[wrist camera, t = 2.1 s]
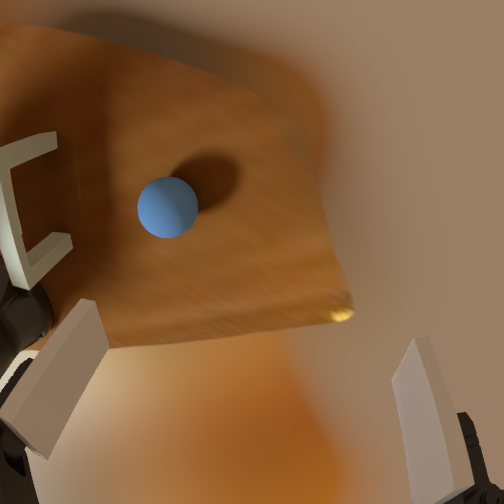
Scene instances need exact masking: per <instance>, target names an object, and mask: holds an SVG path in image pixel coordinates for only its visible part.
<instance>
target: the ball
mask: <svg viewBox="0 0 504 504" xmlns="http://www.w3.org/2000/svg"><path fill="white" fill-rule="evenodd" d="M197 212H198V201H197V197H196V194H195V192H194V191H193V189H192V188H191V187H190V186H189V185H188V184H187V183H186V182H185V181H183V180H181V179H179V178H175V177H161V178H158V179H156V180H154V181H152V182H151V183H149V184H148V185H147V186H146V187H145V188H144V189H143V191H142V193H141V195H140V197H139V200H138V216H139V219H140V221H141V223H142V225H143V226H144V227H145V228H146V230H148V231H149V232H150V233H152V234H153V235H155V236H158V237H162V238H173V237H177V236H179V235H181V234H183V233H185V232H186V231H187V230H188V229H189V228H190V227H191V226H192V225H193V223H194V221H195V219H196V216H197Z"/></svg>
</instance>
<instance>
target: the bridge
mask: <svg viewBox="0 0 504 504" xmlns="http://www.w3.org/2000/svg"><path fill="white" fill-rule="evenodd" d="M55 149H57V135H56V131H53V132H46V133H39V134H36V135H33V136H30V137H27V138H24V139H21V140H18V141H15V142H13V143H10V144H7V145H5V146H2V147H0V249H1V252H2V255H3V259H4V262H5V265H6V268H7V271H8V273H9V276H10V279H11V282H12V285H13V286H16V287H20V288H23V289H27V290H31V288H32V287H33V286H34V285H35V284H36V283H37V282H38V281H39V280H40V279H41V278H42V277H43V276H44V275H45V274H46V273H47V272H48V271H50V270H51V269H52V268H53V267H54V266H55V265H56V264H57V263H58V262H59V261H60V260H61V259H62V258H63V257H64V256H65V255H66V254H67V253H68V252H70V251H71V250H72V249H73V245H72V240H71V235H70V233H60V232H52V233H51V234H50V235H48V236H47V237H46V238H45V239H43V240H42V241H41V242H40V243H38V244H37V245H36V246H35V247H34V248H32V249H31V250H30V251H29V252H28V253H26V250H25V247H24V243H23V239H22V236H21V232H20V228H19V223H18V219H17V215H16V210H15V205H14V200H13V195H12V190H11V184H10V178H9V172H8V169H11V168H13V167H15V166H17V165H19V164H21V163H24V162H26V161H28V160H31V159H33V158H35V157H38V156H40V155H42V154H45V153H47V152H50V151H52V150H55Z"/></svg>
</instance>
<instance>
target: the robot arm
mask: <svg viewBox="0 0 504 504" xmlns="http://www.w3.org/2000/svg"><path fill="white" fill-rule="evenodd" d="M53 321H54V318H53V312H52V308H51V305H50V303H49V301H48V298H47V296H46V295H45V293H44V291H43V290H42V288H41V287H40V285H39V284H38V282H37V283H36V284H35V285H34V286H33V287H32V288H31V290H27V289H23V288H20V287H16V286H13V285H12V282H11V279H10V276H9V273H8V271H7V268H6V265H5V262H4V259H3V257H0V379H1V377H2V376H3V374H4V373H5V372H6V370H7V369H8V367H9V366H10V364H11V363H12V362H13V360H14V359H15V357H16V356H17V355H18V354H19V353H20V352H21V351H23V350H24V349H26V348H27V347H29V346H31V345H32V344H34V343H35V342H37V341H39V340H41V339H42V338H44V337H45V336H46V334H47V333H48V332H49V331H50V329H51V328H52V326H53ZM109 347H110V346H109V343H108V340H107V337H106V334H105V331H104V328H103V325H102V322H101V319H100V316H99V313H98V310H97V306H96V303H95V301H91V300H87V299H82V298H81V299H80V300H79V302H78V303H77V304H76V305H75V306H74V308H73V309H72V310H71V311H70V313H69V314H68V315H67V316H66V318H65V319H64V320H63V321H62V323H61V324H60V325H59V327H58V328H57V329H56V330H55V332H54V333H53V334H52V336H51V337H50V338H49V340H48V341H47V342H46V344H45V345H44V346H43V348H42V349H41V350H40V352H39V353H38V355H37V356H36V357H35V359H32V358H28V359H27V360H25V361H24V362H23V363H21V364H20V365H19V367H18V368H17V369H16V371H15V372H14V374H13V376H11V378H10V379H9V381H8V383H7V384H6V385H5V386H4V388H3V389H2V391H1V393H0V504H39V502H38V498H37V495H36V491H35V487H34V484H33V480H32V476H31V472H30V467H29V462H28V458H27V454H26V451H25V450H24V449H25V447H26V446H27V447H28V448H29V449H30V450H31V451H32V452H34V453H35V454H37V455H39V456H41V457H42V458H44V459H46V460H48V459H49V457H50V455H51V452H52V450H53V448H54V446H55V444H56V442H57V440H58V438H59V437H60V435H61V433H62V431H63V429H64V427H65V425H66V423H67V421H68V419H69V417H70V415H71V414H72V412H73V410H74V408H75V406H76V404H77V402H78V401H79V399H80V397H81V395H82V393H83V392H84V390H85V388H86V386H87V384H88V382H89V381H90V379H91V377H92V375H93V374H94V372H95V370H96V369H97V367H98V365H99V364H100V362H101V360H102V358H103V357H104V355H105V353H106V351H107V350H108V348H109ZM391 381H392V386H393V390H394V395H395V400H396V404H397V409H398V415H399V419H400V425H401V431H402V436H403V442H404V448H405V454H406V461H407V468H408V476H409V484H410V492H411V501H412V504H504V490H501V489H499V487H498V486H496V485H495V484H492V483H491V482H490V481H489V478H488V475H487V470H486V467H485V462H484V458H483V454H482V451H481V448H480V446H479V440H478V437H477V436H476V434H477V433H476V430H475V427H474V424H473V421H472V420H471V419H470V417H469V416H468V414H467V413H466V412H463V413H456V410H455V407H454V404H453V400H452V398H451V394H450V391H449V388H448V385H447V383H446V380H445V377H444V375H443V371H442V369H441V366H440V363H439V361H438V358H437V355H436V353H435V350H434V348H433V345H432V343H431V340H430V338H429V337H413V339H412V341H411V343H410V345H409V348H408V350H407V351H406V353H405V356H404V357H403V359H402V361H401V363H400V365H399V367H398V369H397V370H396V372H395V374H394V376H393V378H392V380H391Z"/></svg>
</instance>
